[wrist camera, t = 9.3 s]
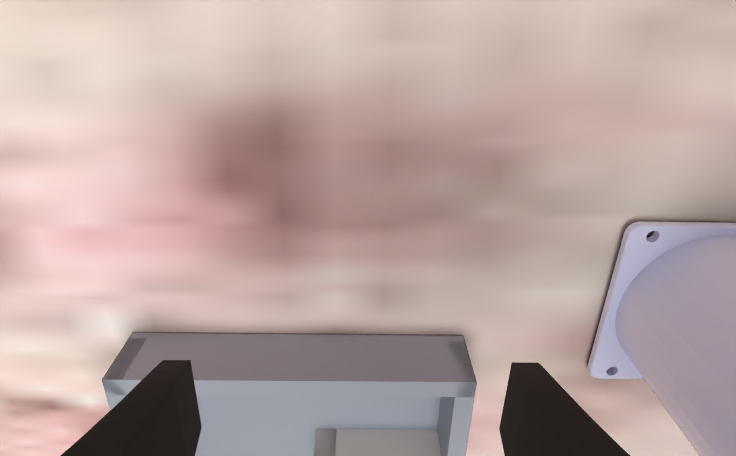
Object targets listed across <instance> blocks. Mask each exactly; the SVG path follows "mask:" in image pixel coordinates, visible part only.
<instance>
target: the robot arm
mask: <svg viewBox="0 0 736 456" xmlns="http://www.w3.org/2000/svg"><path fill="white" fill-rule="evenodd" d="M651 231H654V234H653V235H652V236H651V237H649V238H646V236H647V234H648V233H650V232H651ZM610 367H613V368H611V369H608V368H610ZM607 369H608V370H607ZM588 370H589V372H590V374H591V376H592V377H594V378H598V379H644V380H645V381H646V382H647V384H648V385H649V387H650V388H651V389H652V391H653V392H654V393H655V395H656V396H657V398H658V399H659V400H660V402H661V403H662V405H663V406H664V407H665V409H666V410H667V412H668V413H669V414H670V416H671V417H672V418H673V420H674V421H675V423H676V424H677V425H678V427H679V428H680V430H681V431H682V432H683V434H684V435H685V437H686V438H687V439H688V441H689V442H690V444H691V445H692V446H693V448H694V449H695V450H696V452H697V453H698V455H699V456H736V223H709V222H634V223H632V224H630V225H629V226H628V227H627V228H626V230H625V232H624V235H623V239H622V243H621V246H620V250H619V253H618V257H617V261H616V264H615V268H614V272H613V275H612V279H611V283H610V286H609V290H608V294H607V297H606V301H605V305H604V308H603V312H602V316H601V319H600V323H599V327H598V330H597V334H596V338H595V341H594V345H593V348H592V352H591V356H590V359H589V363H588ZM201 428H202V426H201V420H200V414H199V408H198V402H197V396H196V390H195V384H194V378H193V372H192V366H191V360H162V361H161V362H160V363H159V364H158V365H157V366H156V367H155V368H154V369H153V370H152V371H151V372H150V373H149V374H148V375H147V376H146V377H145V378H143V379H142V380H141V381H140V382H139V383H138V384H137V385H136V386H135V387H134V388H133V389H132V390H131V391H130V392H129V393H128V394H127V395H126V396H125V397H124V398H123V399H122V400H121V401H120V402H119V403H118V404H117V405H116V406H115V407H114V408H113V409H112V410H111V411H109V412H108V413H107V414H106V415H105V416H104V417H103V418H102V419H101V420H100V421H99V422H98V423H97V424H96V425H94V426H93V427H92V428H91V429H90V430H89V431H88V432H87V433H86V434H85V435H84V436H83V437H81V438H80V439H79V440H78V441H77V442H76V443H75V444H74V445H72V446H71V447H70V448H69V449H68V450H67V451H65V452H64V453H63V454H62V455H61V456H195V453H196V449H197V445H198V441H199V437H200V433H201ZM499 429H500V434H501V439H502V444H503V449H504V454H505V456H630V455H629V454H628V453H627V452H626V451H625V450H623V449H622V448H621V447H620V446H619V445H618V444H617V443H616V442H615V441H614V440H613V439H612V438H611V437H610V436H609V435H608V434H607V433H606V432H605V431H604V430H603V429H602V428H601V427H600V426H599V425H598V424H597V423H596V422H595V421H594V420H593V419H592V418H591V417H590V416H589V415H588V414H587V413H586V412H585V411H584V410H583V409H582V408H581V407H580V406H579V405H578V404H577V403H576V402H575V401H574V400H573V399H572V397H571V396H570V395H569V394H568V393H567V392H566V391H565V390H564V389H563V388H562V387H561V386H560V385H559V384H558V383H557V382H556V381H555V379H554V378H553V377H552V376H551V375H550V374H549V373H548V372H547V371H546V370H545V369H544V368H543V367H542V366H541V365H540V364H539V363H512V365H511V370H510V375H509V381H508V386H507V391H506V397H505V402H504V407H503V412H502V418H501V423H500V428H499Z"/></svg>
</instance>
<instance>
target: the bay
mask: <svg viewBox="0 0 736 456" xmlns="http://www.w3.org/2000/svg"><path fill="white" fill-rule="evenodd" d="M162 360H191V366H192V372H193V378H194V384H195V390H196V396H197V402H198V408H199V414H200V420H201V426H202V428H201V433H200V437H199V441H198V445H197V449H196V453H195V456H466V449H467V443H468V436H469V429H470V423H471V416H472V410H473V403H474V397H475V390H476V384H477V382H476V378H475V375H474V371H473V368H472V365H471V361H470V358H469V354H468V351H467V347H466V344H465V341H464V337H463V336H450V335H339V334H228V333H132V334H131V336H130V337H129V339H128V340H127V342H126V343H125V345H124V346H123V348H122V350H121V351H120V353H119V354H118V356H117V357H116V359H115V360H114V362H113V363H112V365H111V366H110V368H109V369H108V371H107V373H106V374H105V376H104V377H103V379H102V382H103V386H104V390H105V393H106V397H107V401H108V404H109V408H110V411H111V410H112V409H113V408H114V407H115V406H116V405H117V404H118V403H119V402H120V401H121V400H122V399H123V398H124V397H125V396H126V395H127V394H128V393H129V392H130V391H131V390H132V389H133V388H134V387H135V386H136V385H137V384H138V383H139V382H140V381H141V380H142V379H143V378H145V377H146V376H147V375H148V374H149V373H150V372H151V371H152V370H153V369H154V368H155V367H156V366H157V365H158V364H159V363H160V362H161V361H162Z"/></svg>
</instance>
